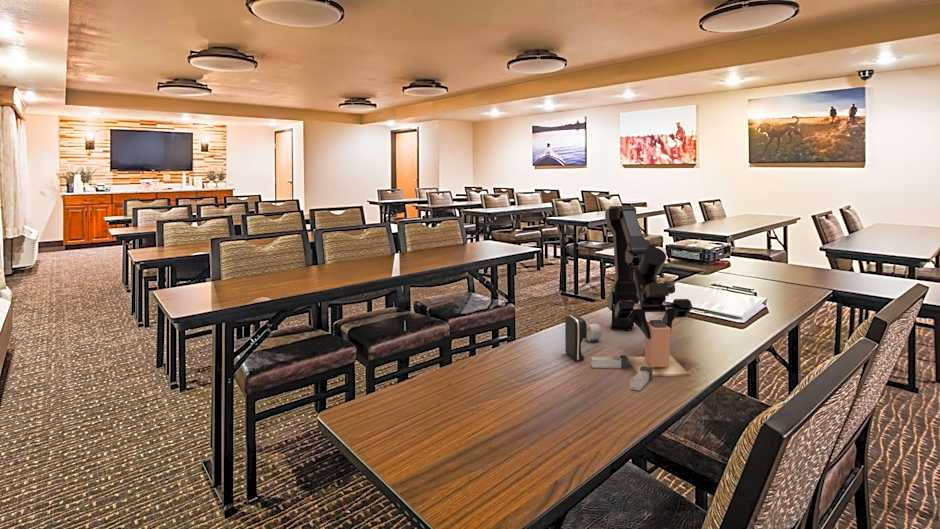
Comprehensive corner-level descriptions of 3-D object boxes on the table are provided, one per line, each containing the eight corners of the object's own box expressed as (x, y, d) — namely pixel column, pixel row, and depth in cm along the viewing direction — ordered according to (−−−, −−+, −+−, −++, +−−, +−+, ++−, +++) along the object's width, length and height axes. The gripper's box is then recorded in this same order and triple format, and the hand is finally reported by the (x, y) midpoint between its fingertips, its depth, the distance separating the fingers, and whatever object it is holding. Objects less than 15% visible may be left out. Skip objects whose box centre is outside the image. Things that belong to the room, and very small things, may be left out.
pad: (639, 376, 131) (640, 374, 131) (626, 359, 142) (626, 356, 142) (688, 375, 130) (688, 373, 130) (671, 358, 142) (671, 355, 142)
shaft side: (625, 364, 138) (625, 355, 138) (627, 368, 136) (627, 359, 135) (590, 364, 139) (591, 355, 139) (592, 368, 137) (592, 358, 136)
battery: (588, 360, 142) (588, 319, 140) (575, 361, 142) (575, 321, 139) (577, 351, 149) (577, 312, 147) (564, 353, 148) (564, 314, 146)
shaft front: (641, 375, 131) (642, 365, 131) (652, 378, 130) (652, 368, 129) (629, 388, 124) (629, 378, 124) (640, 391, 123) (640, 380, 122)
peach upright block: (644, 358, 139) (645, 319, 137) (661, 358, 139) (662, 318, 137) (651, 366, 133) (653, 326, 131) (669, 366, 133) (670, 325, 131)
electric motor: (577, 338, 160) (577, 322, 159) (591, 336, 162) (591, 320, 161) (589, 345, 154) (589, 329, 153) (603, 343, 155) (603, 327, 154)
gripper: (618, 270, 136) (629, 324, 127) (691, 268, 135) (707, 322, 127) (610, 292, 145) (619, 344, 136) (678, 290, 145) (692, 342, 136)
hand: (659, 338), depth 134 cm, fingers open, 5 cm apart
